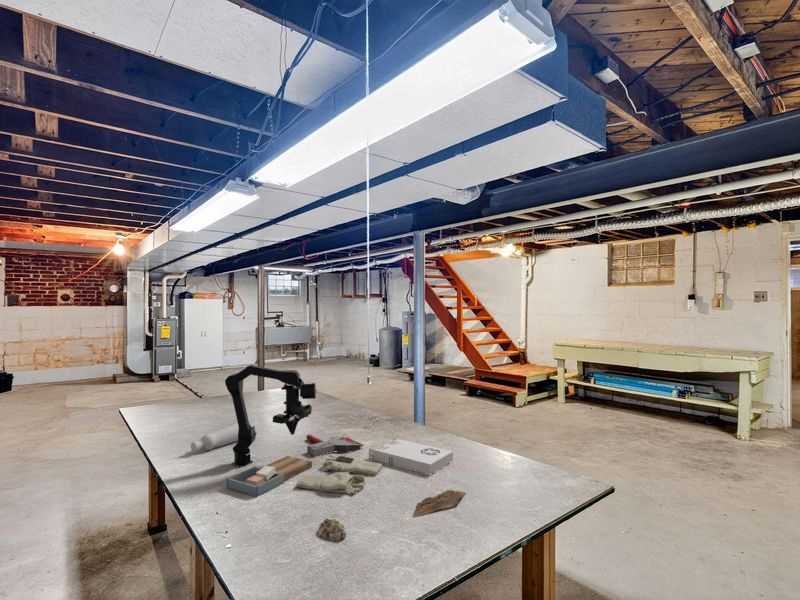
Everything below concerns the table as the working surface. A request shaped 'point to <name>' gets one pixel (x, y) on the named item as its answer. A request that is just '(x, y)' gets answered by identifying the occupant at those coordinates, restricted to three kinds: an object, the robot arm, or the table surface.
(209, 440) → the bottle
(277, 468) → the board
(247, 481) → the terracotta tile
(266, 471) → the cream tile
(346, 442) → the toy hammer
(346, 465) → the pair of gloves
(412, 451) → the power supply unit
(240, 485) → the tray
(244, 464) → the robot arm
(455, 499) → the wooden fragment
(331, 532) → the mineral rock
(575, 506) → the table surface
